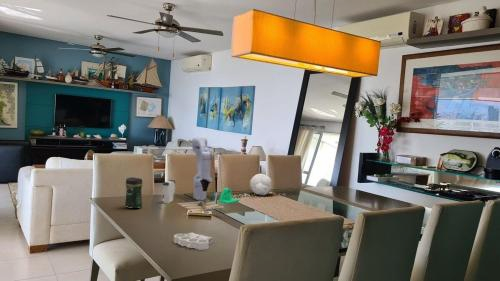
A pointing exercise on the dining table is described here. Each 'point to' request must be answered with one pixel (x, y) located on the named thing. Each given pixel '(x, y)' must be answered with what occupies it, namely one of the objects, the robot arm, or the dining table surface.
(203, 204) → the bar with round base
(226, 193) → the camera mount
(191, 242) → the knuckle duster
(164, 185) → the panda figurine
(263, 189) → the decorative orb
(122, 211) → the dining table surface
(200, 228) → the dining table surface
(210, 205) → the base plate
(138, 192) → the coffee jar
